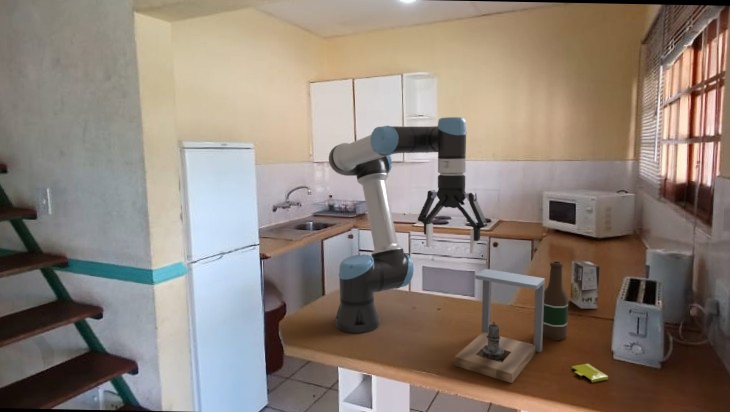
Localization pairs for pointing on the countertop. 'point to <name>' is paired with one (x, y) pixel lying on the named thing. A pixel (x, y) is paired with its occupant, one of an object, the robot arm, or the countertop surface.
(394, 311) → the countertop surface
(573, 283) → the coffee box
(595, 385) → the countertop surface
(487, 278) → the grey arch frame
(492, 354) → the grey chess piece
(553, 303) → the beer bottle
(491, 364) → the socket
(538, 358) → the countertop surface
